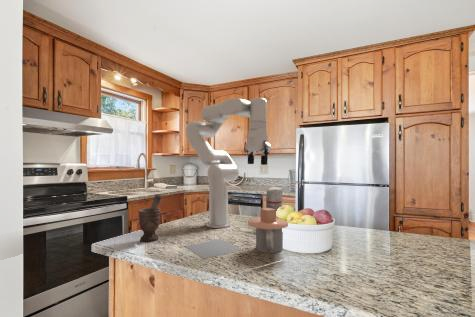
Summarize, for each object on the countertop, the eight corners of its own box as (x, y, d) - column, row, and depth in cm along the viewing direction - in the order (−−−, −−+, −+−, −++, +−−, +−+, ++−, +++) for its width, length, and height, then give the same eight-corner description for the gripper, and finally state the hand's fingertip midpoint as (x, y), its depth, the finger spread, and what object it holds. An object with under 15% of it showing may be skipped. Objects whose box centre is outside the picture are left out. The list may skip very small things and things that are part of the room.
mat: (184, 247, 100) (184, 245, 100) (220, 240, 109) (220, 238, 109) (203, 260, 87) (203, 258, 87) (242, 251, 96) (242, 249, 96)
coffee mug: (259, 244, 104) (259, 219, 104) (284, 247, 101) (284, 221, 101) (250, 255, 92) (250, 227, 92) (278, 259, 88) (278, 229, 88)
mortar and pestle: (170, 240, 109) (171, 192, 109) (157, 246, 101) (157, 194, 101) (148, 237, 113) (148, 191, 113) (133, 242, 105) (134, 193, 105)
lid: (239, 222, 99) (239, 208, 99) (269, 217, 107) (269, 204, 107) (266, 231, 86) (266, 215, 86) (297, 225, 95) (297, 210, 95)
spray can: (283, 229, 127) (283, 188, 128) (266, 229, 128) (267, 188, 128) (281, 224, 136) (281, 186, 136) (265, 224, 136) (265, 186, 136)
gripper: (240, 127, 122) (239, 163, 122) (263, 123, 108) (262, 165, 108) (253, 128, 126) (252, 163, 126) (277, 125, 112) (276, 165, 112)
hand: (257, 164), depth 117 cm, fingers open, 9 cm apart
